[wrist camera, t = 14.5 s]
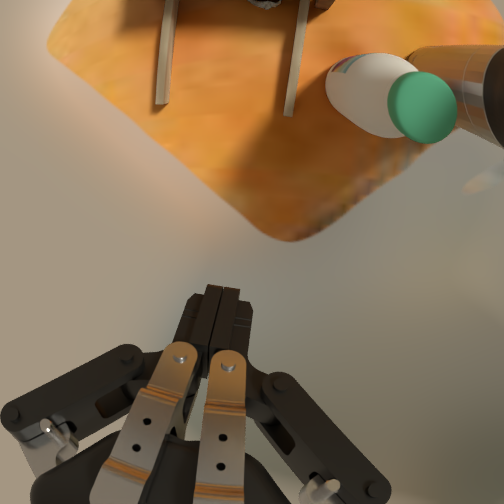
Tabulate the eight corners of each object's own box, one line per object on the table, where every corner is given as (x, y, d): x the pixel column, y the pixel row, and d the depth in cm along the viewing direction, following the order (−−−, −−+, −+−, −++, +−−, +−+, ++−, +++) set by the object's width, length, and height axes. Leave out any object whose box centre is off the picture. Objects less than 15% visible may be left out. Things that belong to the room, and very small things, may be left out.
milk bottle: (380, 124, 33) (462, 181, 17) (320, 111, 34) (357, 154, 17) (391, 65, 29) (487, 73, 12) (328, 50, 29) (378, 30, 13)
